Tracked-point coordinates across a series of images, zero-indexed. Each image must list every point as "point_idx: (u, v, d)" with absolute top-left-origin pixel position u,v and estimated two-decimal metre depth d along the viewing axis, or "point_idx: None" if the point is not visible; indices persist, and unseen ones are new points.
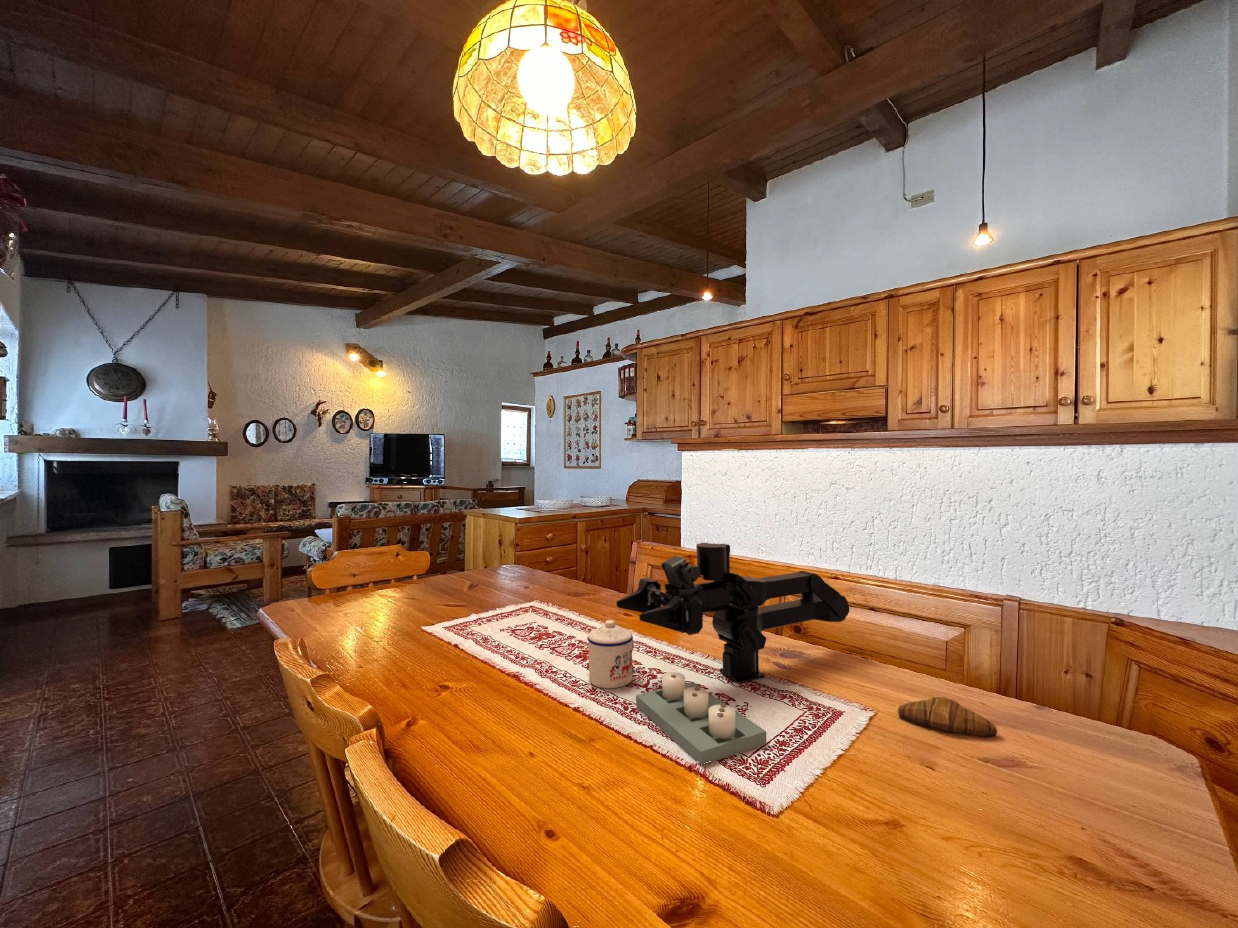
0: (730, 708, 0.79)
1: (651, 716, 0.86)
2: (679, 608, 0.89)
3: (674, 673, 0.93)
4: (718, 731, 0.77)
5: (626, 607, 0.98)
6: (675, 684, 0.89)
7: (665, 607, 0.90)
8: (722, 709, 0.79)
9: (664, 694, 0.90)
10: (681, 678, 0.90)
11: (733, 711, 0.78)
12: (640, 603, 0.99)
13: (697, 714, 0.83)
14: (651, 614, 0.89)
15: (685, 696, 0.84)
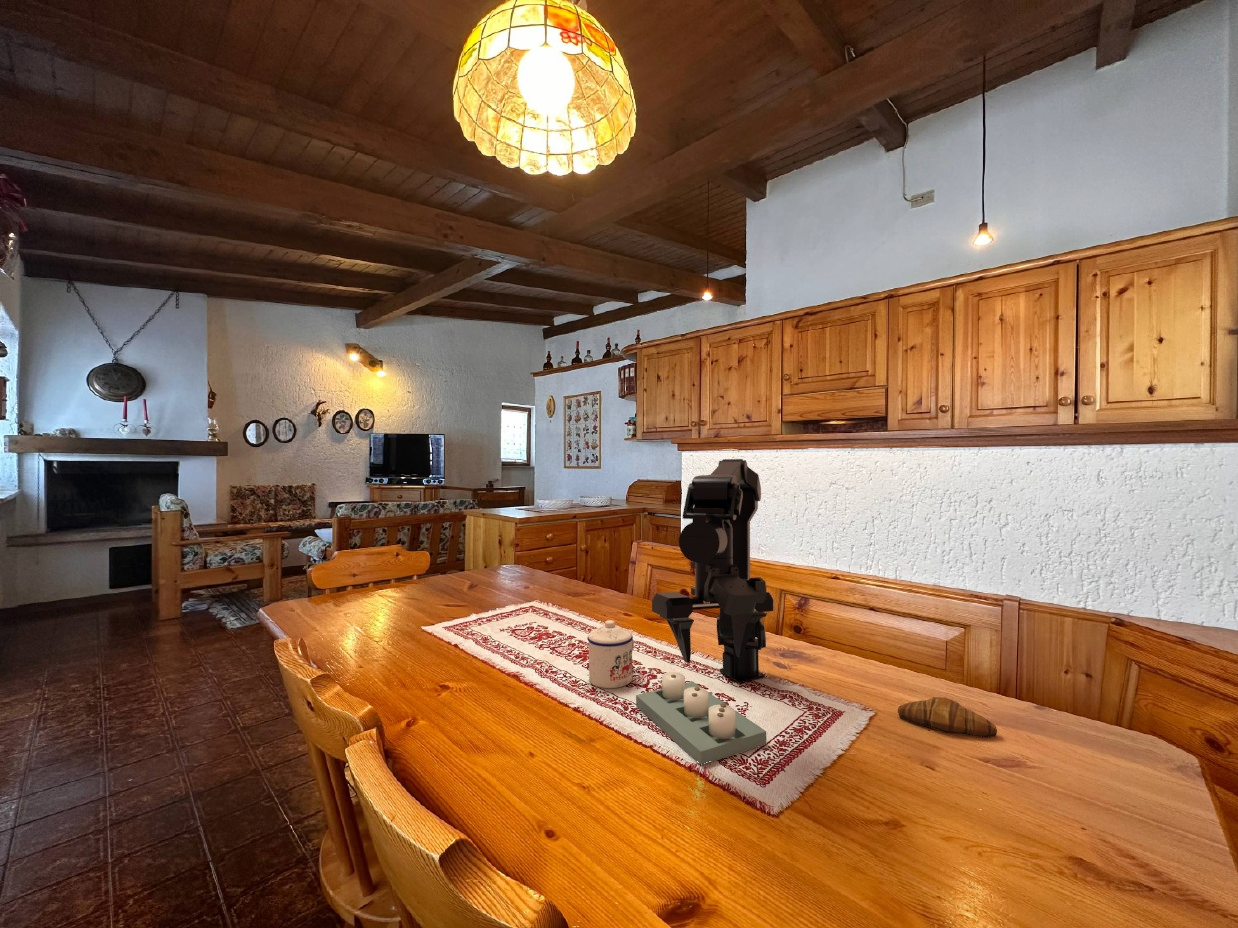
0: (730, 708, 0.79)
1: (651, 716, 0.86)
2: None
3: (674, 673, 0.93)
4: (718, 731, 0.77)
5: None
6: (675, 684, 0.89)
7: (749, 628, 0.80)
8: (722, 709, 0.79)
9: (664, 694, 0.90)
10: (681, 678, 0.90)
11: (733, 711, 0.78)
12: None
13: (697, 714, 0.83)
14: None
15: (685, 696, 0.84)
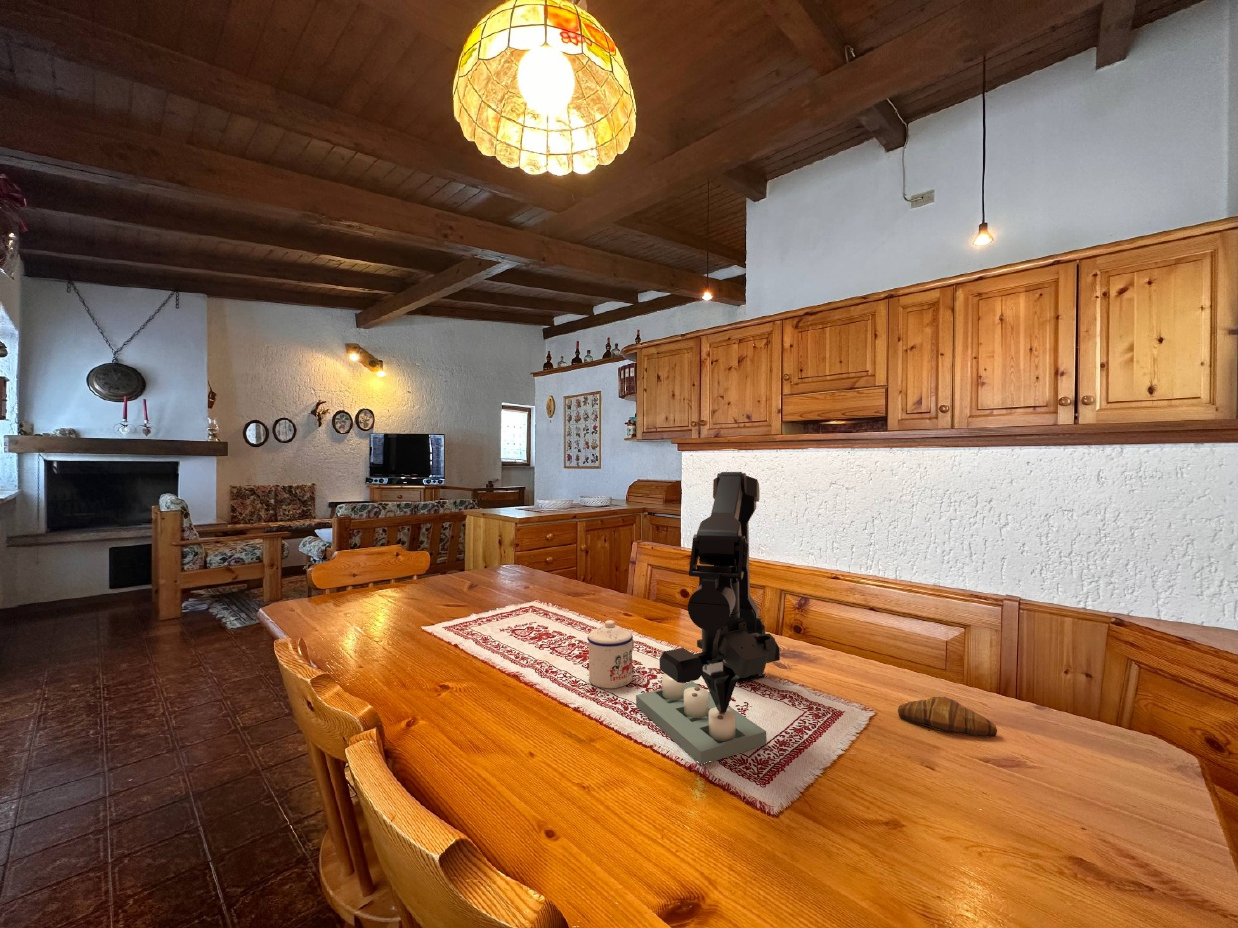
0: (730, 710, 0.79)
1: (651, 716, 0.86)
2: None
3: None
4: (718, 733, 0.77)
5: None
6: (675, 684, 0.89)
7: (733, 684, 0.78)
8: None
9: (664, 694, 0.90)
10: None
11: (733, 714, 0.78)
12: None
13: (697, 714, 0.83)
14: None
15: (685, 696, 0.84)
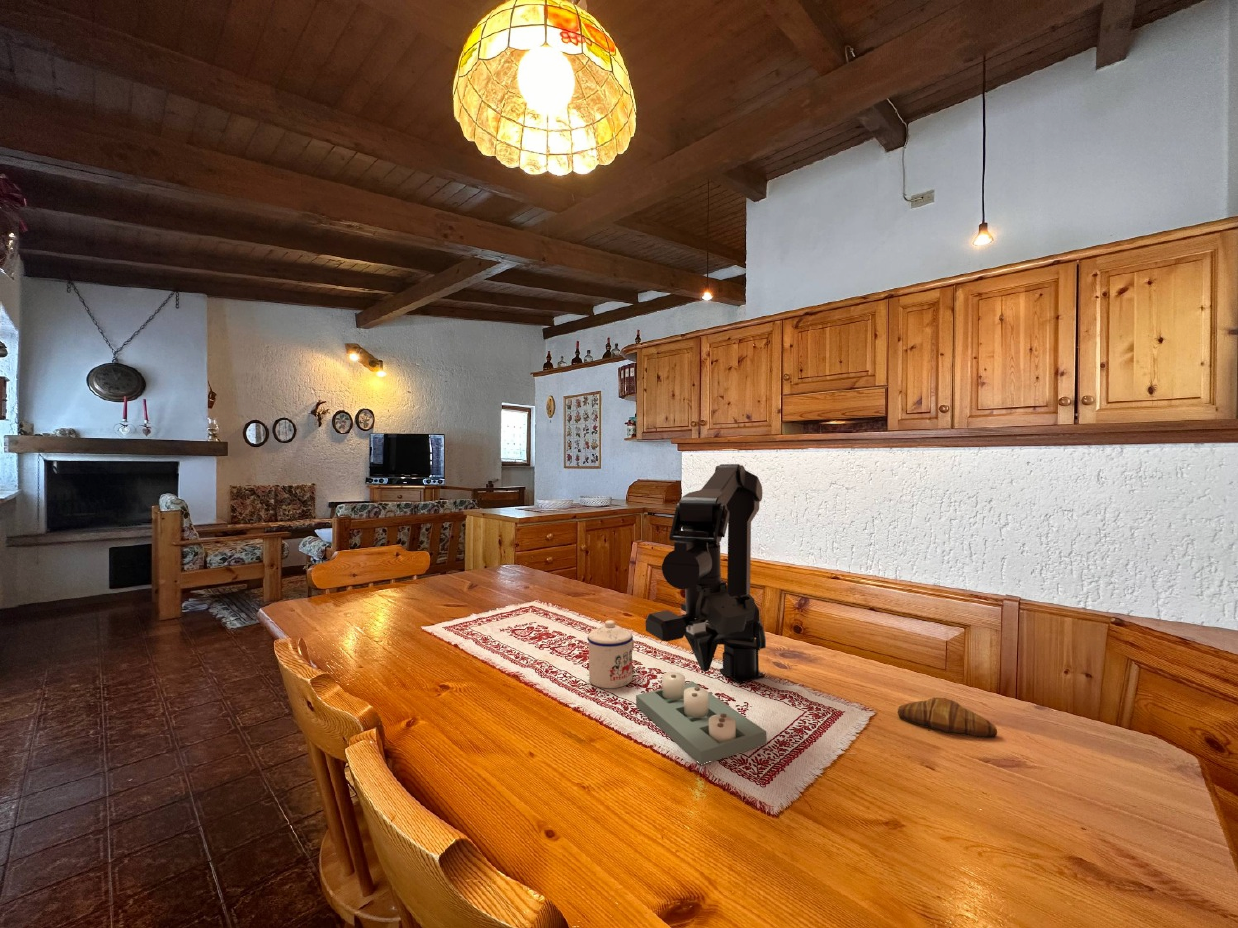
0: (730, 718, 0.79)
1: (651, 716, 0.86)
2: None
3: (674, 673, 0.93)
4: (718, 741, 0.77)
5: None
6: (675, 684, 0.89)
7: (716, 643, 0.82)
8: (722, 719, 0.79)
9: (664, 694, 0.90)
10: (681, 678, 0.90)
11: (733, 721, 0.78)
12: None
13: (697, 714, 0.83)
14: None
15: (685, 696, 0.84)
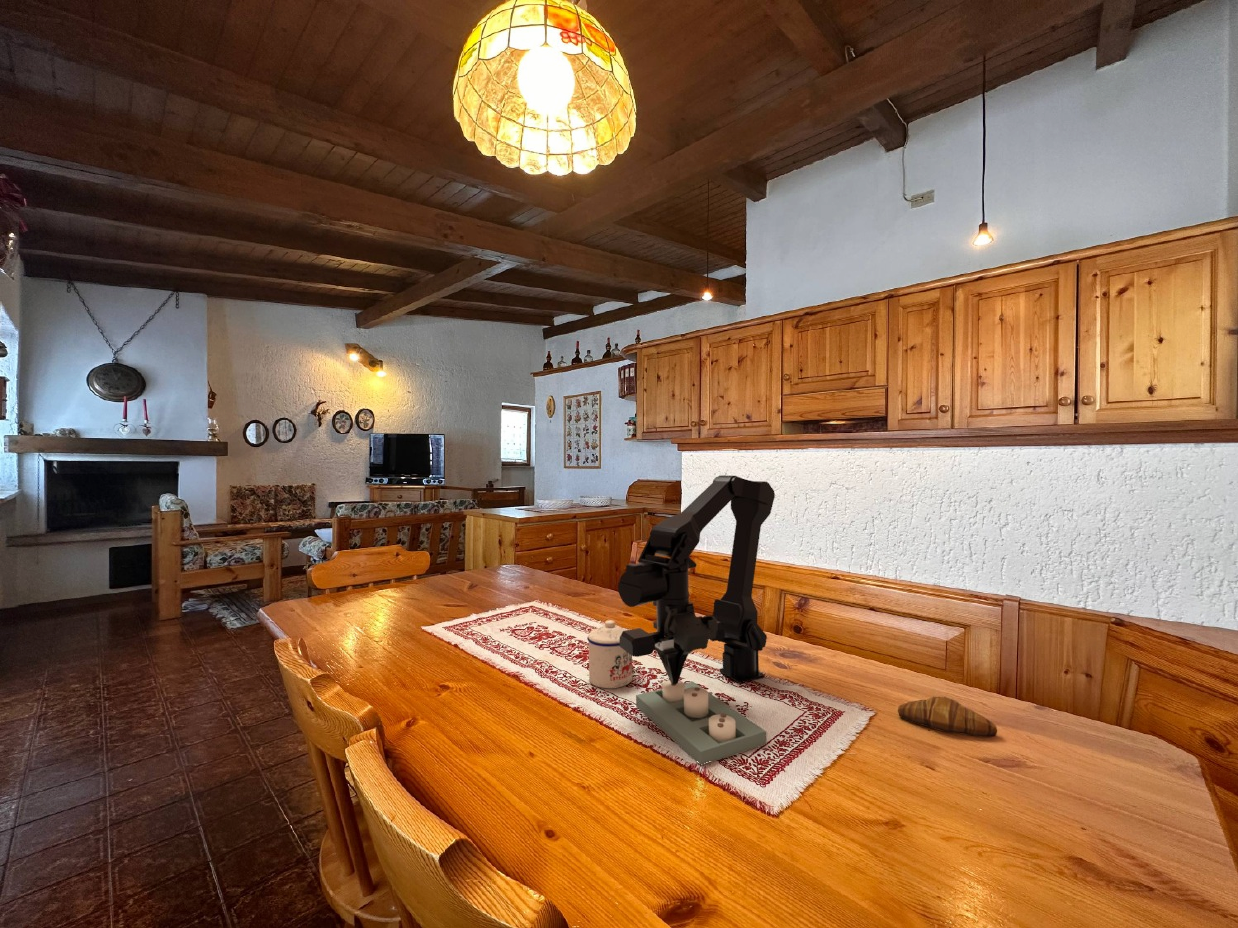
0: (730, 718, 0.79)
1: (651, 716, 0.86)
2: None
3: None
4: (718, 741, 0.77)
5: None
6: (675, 692, 0.89)
7: (684, 659, 0.91)
8: (722, 719, 0.79)
9: None
10: (681, 686, 0.90)
11: (733, 721, 0.78)
12: None
13: (697, 714, 0.83)
14: None
15: (685, 696, 0.84)
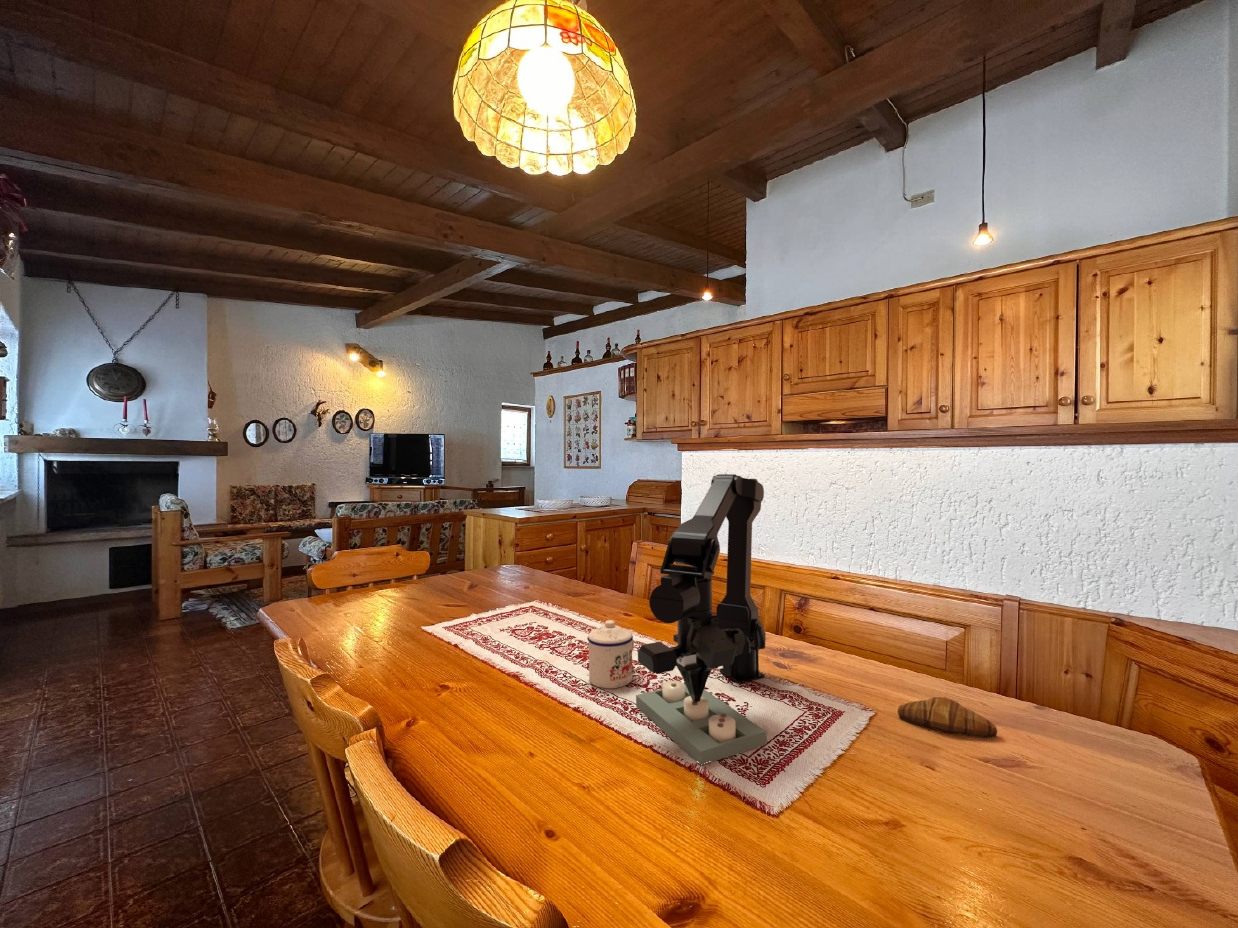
0: (730, 718, 0.79)
1: (651, 716, 0.86)
2: None
3: (674, 682, 0.93)
4: (718, 741, 0.77)
5: None
6: (675, 693, 0.89)
7: (706, 675, 0.84)
8: (722, 719, 0.79)
9: None
10: (681, 687, 0.90)
11: (733, 721, 0.78)
12: None
13: None
14: None
15: (685, 705, 0.84)
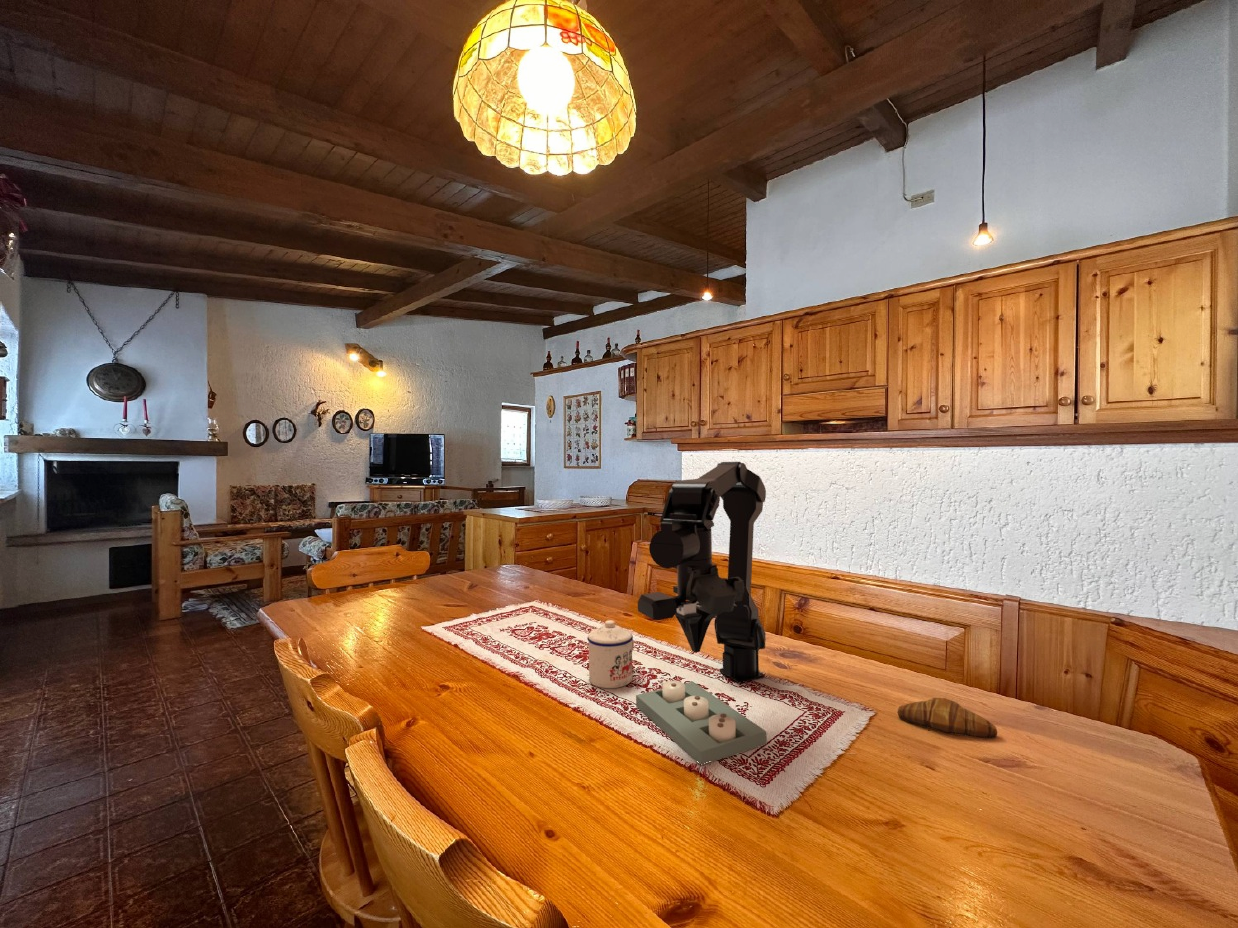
0: (730, 718, 0.79)
1: (651, 716, 0.86)
2: None
3: (674, 682, 0.93)
4: (718, 741, 0.77)
5: None
6: (675, 693, 0.89)
7: (706, 625, 0.84)
8: (722, 719, 0.79)
9: None
10: (681, 687, 0.90)
11: (733, 721, 0.78)
12: None
13: None
14: None
15: (685, 705, 0.84)
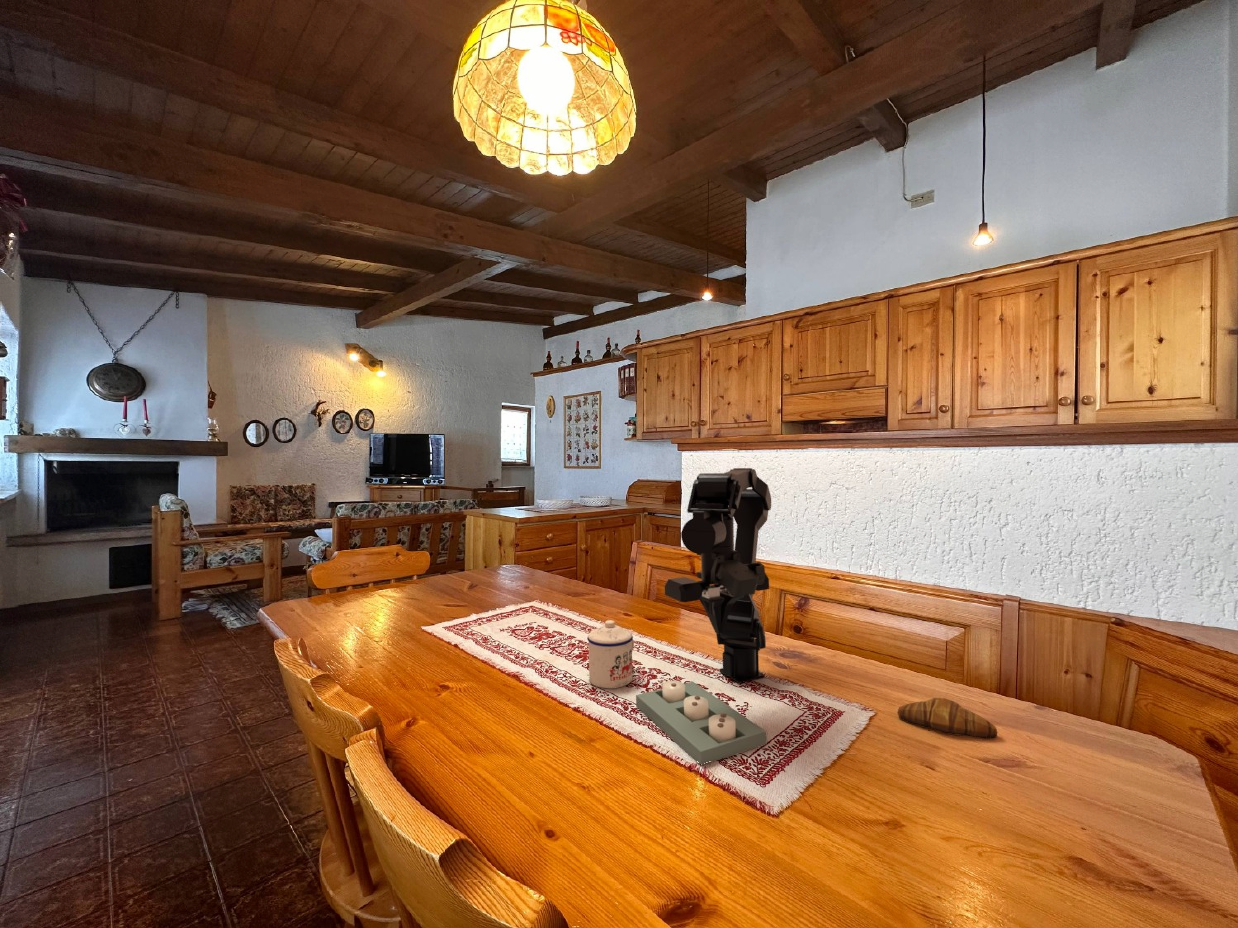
0: (730, 718, 0.79)
1: (651, 716, 0.86)
2: None
3: (674, 682, 0.93)
4: (718, 741, 0.77)
5: None
6: (675, 693, 0.89)
7: (729, 608, 0.90)
8: (722, 719, 0.79)
9: None
10: (681, 687, 0.90)
11: (733, 721, 0.78)
12: None
13: None
14: None
15: (685, 705, 0.84)
